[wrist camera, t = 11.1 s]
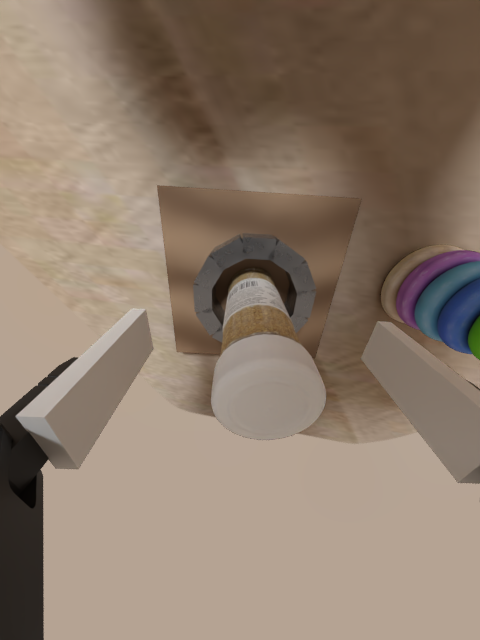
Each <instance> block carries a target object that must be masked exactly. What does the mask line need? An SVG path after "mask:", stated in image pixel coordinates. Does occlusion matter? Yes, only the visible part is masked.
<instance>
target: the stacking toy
mask: <svg viewBox="0 0 480 640" xmlns="http://www.w3.org/2000/svg"><path fill="white" fill-rule="evenodd" d="M381 303H382V306H383V309H384V310H385V312H386V313H387V314H388V315H389V316H390V317H391V318H392V319H394V320H396V321H398V322H402V323H406V324H407V325H408V326H410V327H412V328H415V329H418V330H421V331H422V332H423V333H424V334H425V335H427V336H428V337H430V338H432V339H434V340H437V341H442V342H444V343H445V344H446V345H447V346H449V347H450V348H452V349H454V350H456V351H459V352H462V353H467V354H473V355H474V356H475V357H476V358H478V359H479V360H480V253H478V252H474V251H469V250H463V249H461V248H459V247H456V246H452V245H433V246H428V247H425V248H421V249H419V250H417V251H415V252H413V253H411V254H409V255H408V256H406V257H405V258H403V259H402V260H401V261H400V262H399V263H398V264H397V265H396V266H395V267H394V268H393V269H392V270H391V271H390V273H389V274H388V276H387V277H386V279H385V281H384V284H383V287H382V291H381Z"/></svg>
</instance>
